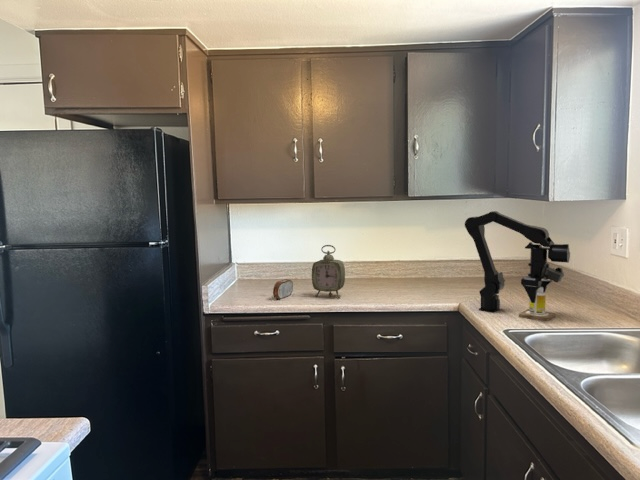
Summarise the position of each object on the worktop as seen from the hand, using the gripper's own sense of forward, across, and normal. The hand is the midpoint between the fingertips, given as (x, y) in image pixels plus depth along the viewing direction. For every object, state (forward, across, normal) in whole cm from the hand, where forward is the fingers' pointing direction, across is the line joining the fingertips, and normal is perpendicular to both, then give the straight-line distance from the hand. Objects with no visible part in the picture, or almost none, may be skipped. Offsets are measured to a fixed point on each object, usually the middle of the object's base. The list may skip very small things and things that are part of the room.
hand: (537, 300), depth 174 cm
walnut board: (+6, 0, 0) cm, 6 cm away
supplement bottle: (+5, 0, 0) cm, 5 cm away
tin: (+7, -41, +102) cm, 110 cm away
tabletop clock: (+6, -26, +86) cm, 90 cm away
